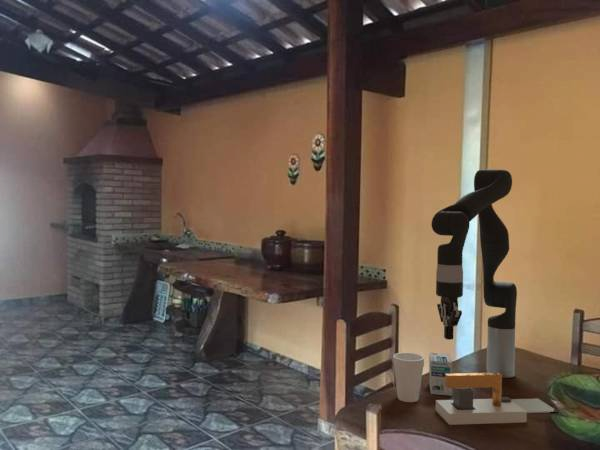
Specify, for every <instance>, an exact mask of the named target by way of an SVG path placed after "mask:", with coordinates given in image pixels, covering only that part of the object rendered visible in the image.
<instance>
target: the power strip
mask: <svg viewBox="0 0 600 450" xmlns="http://www.w3.org/2000/svg"><path fill="white" fill-rule="evenodd" d="M435 411H436V413H437V414H439V416H440V417H441V418H442V419H443V420H444V421H445V422H446V423H447V424H448V425H449V426H453V425H483V424H513V423H514V424H515V423H518V424H519V423H527V417H528V416H527V415H528V413H527V411H525V410H524V409H522V408H521V407H520V406H518V405H517V404H515V403H514V402H512V401H511V398H510V397H508V396H502V402H501V406H495V405H493V404H492V398H473V410H457V409H456V408H455V407H454V406H453V399H436V400H435Z"/></svg>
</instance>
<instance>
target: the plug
mask: <svg viewBox="0 0 600 450" xmlns="http://www.w3.org/2000/svg"><path fill="white" fill-rule="evenodd" d="M452 398H453V399H452V400H453V406H454V407H455V408H456V409H457V410H473V399H474V391H473V389H472V388H452Z"/></svg>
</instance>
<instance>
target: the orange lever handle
mask: <svg viewBox="0 0 600 450" xmlns="http://www.w3.org/2000/svg"><path fill="white" fill-rule="evenodd" d="M502 383H503V378H502V374H501V373H498V372H494V373H487V372H466V373H465V372H464V373H462V372H461V373H460V372H458V373H456V372H455V373H453V372H452V374H445V387H446V388H452V389H453V388H470V389H475V388H477V389H478V388H492V397H491V399H492V404H493V405H495V406H501V402H502V397H503V396H502V395H503V393H502V392H503V390H502V389H503V388H502V387H503V385H502Z"/></svg>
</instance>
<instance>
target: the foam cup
mask: <svg viewBox="0 0 600 450" xmlns="http://www.w3.org/2000/svg"><path fill="white" fill-rule="evenodd" d="M392 357H393V359H392V361H393V362H392V363H393V368H394V376H395V377H394V378H395V386H396V387H395V388H396V394H397V399H398V400H399V401H401V402H404V403H405V402H406V403H415V402H418V401H419V398H420V392H421V385H422V384H421V383H422V378H423V371H424V366H425V357H424V356H423V355H421V354H419V353H415V352H397V353H394V354H393V356H392Z"/></svg>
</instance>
